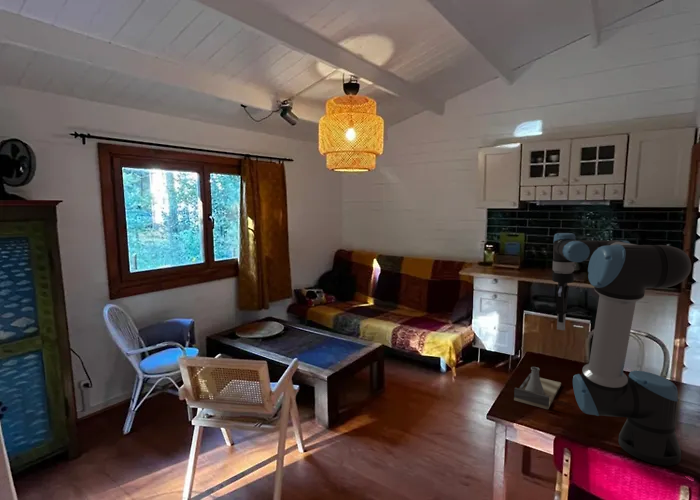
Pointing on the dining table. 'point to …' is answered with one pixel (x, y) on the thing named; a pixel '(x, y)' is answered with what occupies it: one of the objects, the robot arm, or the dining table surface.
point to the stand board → (536, 398)
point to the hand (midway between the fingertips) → (560, 329)
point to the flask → (535, 382)
